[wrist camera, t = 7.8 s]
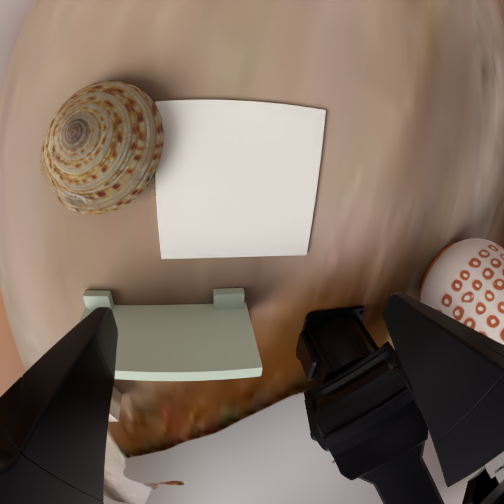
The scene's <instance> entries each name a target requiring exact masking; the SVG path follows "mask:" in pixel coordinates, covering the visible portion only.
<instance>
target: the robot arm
mask: <svg viewBox="0 0 504 504" xmlns="http://www.w3.org/2000/svg"><path fill="white" fill-rule="evenodd" d="M365 311H366V310H365V308H364V307H363V306H357V307H350V308H342V309H334V310H326V311H317V312H310V313H308V314H307V315H306V318H305V322H304V326H303V330H302V332H301V333H300V336H299V340H298V344H297V348H296V351H297V353H296V357H297V359H298V360H300V361H301V364H302V367H303V369H304V372H305V374H306V377H307V379H309V380H313V381H314V384H315V386H316V387H315V388H313V389H311V390H307V391H305V392H304V395H305V405H306V410H307V415H308V420H309V426H310V431H311V433H310V435H311V438H312V439H313V440H315V441H317V442H318V443H319V445H320V446H321V447H322V448H323V449H324V450H325V451H330V452H331V454H332V456H333V458H334V460H335V462H336V464H337V466H338V468H339V471H340V473H341V474H342V475H343V476H345V477H347V478H348V479H350V480H354V479H356V478H360V479H362V480H364V481H367V482H369V483H371V484H373V485H374V486H375V488H376V490H377V492H378V494H379V496H380V498H381V500H382V501H383V503H384V504H444V502H443V500H442V498H441V495H440V493H439V491H438V489H437V487H436V485H435V483H434V481H433V478H432V476H431V475H430V472H429V470H428V468H427V466H426V464H425V462H424V460H423V458H422V456H423V451H424V444H425V441H426V440H427V438H428V430H429V432H430V435H431V438H432V441H433V443H434V447H435V450H436V453H437V456H438V459H439V462H440V465H441V469H442V472H443V476H444V479H445V483H446V485H447V487H449V486H451V485H453V484H455V483H457V482H458V481H460V480H462V479H463V478H465V477H467V476H469V475H470V474H472V473H473V472H475V471H477V470H478V469H480V468H481V467H483V466H484V468H483V469H481V470H480V471H479V472H478V473H477V474H476V475H475V476H474V477H472V478H471V479H470V480H469V481H468V484H467V488H466V492H465V495H464V499H463V502H462V504H504V345H503V344H501V343H499V342H497V341H495V340H493V339H491V338H489V337H487V336H485V335H484V334H482V333H480V332H478V331H476V330H474V329H472V328H470V327H468V326H467V325H465V324H463V323H461V322H459V321H457V320H455V319H453V318H451V317H449V316H447V315H445V314H443V313H442V312H440V311H438V310H436V309H434V308H432V307H430V306H428V305H426V304H424V303H422V302H420V301H418V300H416V299H414V298H412V297H410V296H408V295H406V294H404V293H401V292H399V293H393V294H391V295H390V297H389V299H388V302H387V304H386V306H385V309H384V311H383V318H384V321H385V324H386V326H387V329H388V332H389V334H390V337H391V340H392V342H393V345H394V348H395V350H394V349H393V347H392V346H391V345H390V343H389V342H388V341H387V342H386V343H385V344H383V346H382V347H380V348H379V347H378V346H377V344H376V343H375V341H374V340H373V338H372V337H371V335H370V334H369V332H368V331H367V329H366V328H365V326H364V325H363V323H362V319H363V317H364V314H365ZM311 317H312V318H311ZM117 341H118V328H117V325H116V322H115V318H114V315H113V311H112V309H111V308H110V307H97V308H96V309H94V310H93V311H92V312H91V313H90V314H89V315H87V316H86V317H85V318H84V319H83V320H82V321H81V322H79V323H78V324H77V325H76V326H75V327H74V328H73V329H72V330H70V331H69V332H68V333H67V334H66V335H65V336H64V337H63V338H61V339H60V340H59V341H58V342H57V343H56V344H55V345H54V346H53V347H52V348H51V349H49V350H48V351H47V352H46V353H45V354H44V355H43V356H42V357H41V358H40V359H39V360H38V361H37V362H36V363H35V364H34V365H33V366H32V367H31V368H29V369H28V370H27V371H26V372H25V373H24V374H23V377H20V378H19V379H18V380H17V381H16V382H15V383H14V384H13V385H12V386H11V387H10V388H9V389H8V390H7V391H6V392H5V393H4V394H3V395H2V396H1V397H0V504H104V503H103V489H104V464H105V450H106V439H107V429H108V421H109V413H110V406H111V399H112V392H113V386H114V379H115V365H116V352H117Z"/></svg>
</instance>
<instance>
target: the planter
mask: <svg viewBox="0 0 504 504" xmlns="http://www.w3.org/2000/svg"><path fill="white" fill-rule="evenodd" d="M420 297H421V298H420V302H422V303H424V304H426V305H428V306H430V307H432V308H434V309H436V310H438V311H440V312H442V313H443V314H445V315H447V316H449V317H451V318H453V319H455V320H457V321H459V322H461V323H463V324H465V325H467V326H468V327H470V328H472V329H474V330H476V331H478V332H480V333H482V334H484V335H485V336H487V337H489V338H491V339H493V340H495V341H497V342H499V343H501V344H503V345H504V248H502V247H501V246H499V245H498V244H496V243H494V242H492V241H489V240H486V239H481V238H470V239H465V240H462V241H459V242H454V243H452V244H450V245H448V246H447V247H445V248H444V249H443V250H442V251H441V252H440V253H439V254H438V255H437V256H436V257H435V258H434V260H433V261H432V263H431V264H430V266H429V267H428V269H427V271H426V273H425V275H424V278H423V280H422V284H421V289H420Z"/></svg>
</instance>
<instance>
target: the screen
mask: <svg viewBox="0 0 504 504" xmlns="http://www.w3.org/2000/svg"><path fill="white" fill-rule="evenodd" d="M244 295H245V293H244V289H243V288H223V289H213V302H214V304H184V305H114V302H113V299H112V295H111V291H94V290H85V292H84V294H83V299H84V302H85V305H86V308H85V310H84V312H83V315H82V317H81V319H80V322H81V321H82V320H83V319H84V318H85V317H86V316H87V315H89V314H90V313H91V312H92V311H93V310H94V309H96V308H97V307H110V308H111V309H112V311H113V315H114V318H115V322H116V325H117V328H118V341H117V352H116V365H115V379H123V380H143V381H199V380H220V379H235V378H247V377H257V376H261V374H262V364H261V360H260V356H259V352H258V348H257V344H256V340H255V336H254V332H253V328H252V325H251V321H250V317H249V313H248V309H247V305H246V302H244Z"/></svg>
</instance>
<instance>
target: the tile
mask: <svg viewBox="0 0 504 504" xmlns="http://www.w3.org/2000/svg"><path fill="white" fill-rule="evenodd" d="M155 105H156V106H157V108H158V110H159V113H160V115H161V118H162V126H163V131H164V144H163V150H162V154H161V158H160V161H159V164H158V167H157V169H156V171H155V180H156V201H157V216H158V229H159V240H160V251H161V259H184V258H221V257H256V256H289V255H307V249H308V243H309V237H310V231H311V225H312V219H313V212H314V205H315V198H316V191H317V184H318V176H319V168H320V160H321V152H322V143H323V133H324V124H325V113H326V110H322V109H316V108H309V107H302V106H295V105H287V104H277V103H267V102H255V101H238V100H171V101H155Z"/></svg>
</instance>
